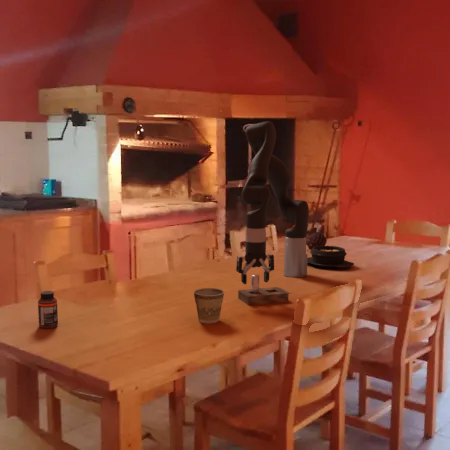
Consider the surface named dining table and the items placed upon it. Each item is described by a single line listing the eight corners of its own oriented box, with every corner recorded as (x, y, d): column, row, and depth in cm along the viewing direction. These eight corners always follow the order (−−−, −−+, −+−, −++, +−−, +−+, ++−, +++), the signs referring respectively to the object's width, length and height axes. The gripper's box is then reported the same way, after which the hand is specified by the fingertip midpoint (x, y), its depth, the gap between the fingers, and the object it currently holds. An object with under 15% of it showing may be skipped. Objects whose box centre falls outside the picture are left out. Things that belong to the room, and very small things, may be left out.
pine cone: (318, 247, 346) (319, 229, 344) (333, 249, 339) (334, 231, 338) (299, 251, 333) (299, 232, 331) (314, 254, 326) (315, 235, 325)
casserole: (294, 265, 300) (295, 247, 299) (315, 259, 314) (316, 242, 313) (341, 273, 284) (342, 254, 283) (361, 266, 298) (362, 249, 297)
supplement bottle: (40, 323, 207) (39, 289, 205) (59, 323, 208) (58, 289, 206) (37, 329, 201) (35, 294, 200) (56, 329, 202) (55, 294, 200)
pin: (256, 300, 238) (257, 274, 236) (260, 302, 235) (260, 275, 233) (249, 300, 237) (249, 274, 235) (252, 303, 234) (253, 276, 232)
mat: (279, 288, 256) (279, 287, 256) (290, 294, 246) (290, 293, 246) (257, 290, 252) (257, 289, 252) (267, 296, 243) (267, 295, 243)
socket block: (276, 295, 244) (277, 286, 244) (288, 302, 235) (288, 293, 235) (238, 299, 239) (238, 290, 238) (248, 306, 230) (248, 296, 229)
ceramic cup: (213, 327, 205) (213, 297, 204) (187, 321, 210) (187, 292, 209) (233, 317, 216) (234, 288, 214) (209, 312, 221) (209, 284, 220)
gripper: (269, 236, 238) (268, 279, 241) (233, 239, 233) (233, 282, 236) (277, 240, 231) (277, 283, 234) (241, 242, 226) (241, 286, 229)
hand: (255, 282), depth 235 cm, fingers open, 8 cm apart
